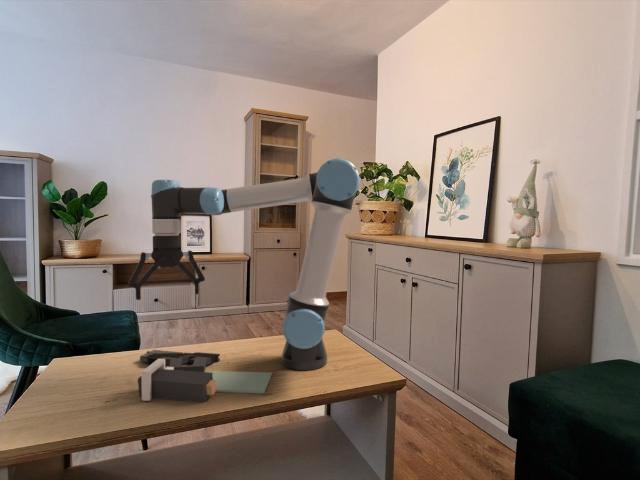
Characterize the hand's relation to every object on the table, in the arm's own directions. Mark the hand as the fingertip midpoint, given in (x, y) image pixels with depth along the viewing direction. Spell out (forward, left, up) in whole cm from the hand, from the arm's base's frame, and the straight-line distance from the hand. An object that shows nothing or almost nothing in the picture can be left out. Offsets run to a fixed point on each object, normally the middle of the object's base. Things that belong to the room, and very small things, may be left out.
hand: (168, 308), depth 104 cm
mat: (-16, +1, -21) cm, 26 cm away
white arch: (0, +7, -20) cm, 21 cm away
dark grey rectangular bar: (-7, +10, -20) cm, 24 cm away
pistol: (+3, -9, -21) cm, 22 cm away
